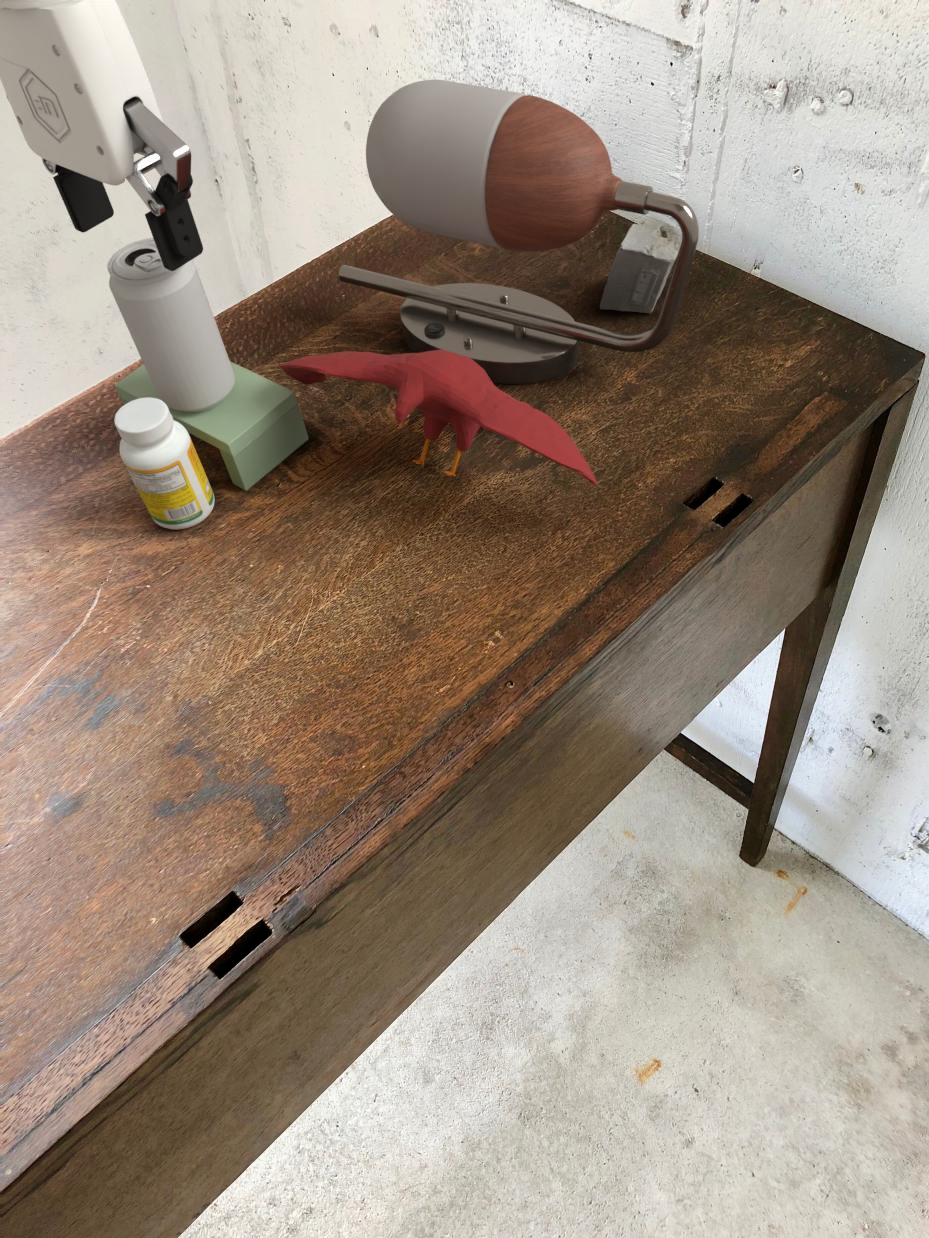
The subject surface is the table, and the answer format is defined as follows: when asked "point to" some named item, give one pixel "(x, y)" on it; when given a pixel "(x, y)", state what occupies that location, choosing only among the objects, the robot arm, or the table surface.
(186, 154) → the robot arm
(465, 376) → the decorative bird sculpture
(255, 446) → the shelf
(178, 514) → the supplement bottle
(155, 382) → the beverage can
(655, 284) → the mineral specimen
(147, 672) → the table surface
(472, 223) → the light fixture
